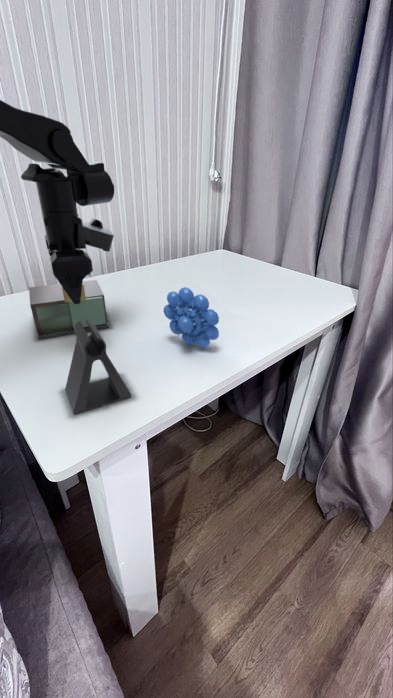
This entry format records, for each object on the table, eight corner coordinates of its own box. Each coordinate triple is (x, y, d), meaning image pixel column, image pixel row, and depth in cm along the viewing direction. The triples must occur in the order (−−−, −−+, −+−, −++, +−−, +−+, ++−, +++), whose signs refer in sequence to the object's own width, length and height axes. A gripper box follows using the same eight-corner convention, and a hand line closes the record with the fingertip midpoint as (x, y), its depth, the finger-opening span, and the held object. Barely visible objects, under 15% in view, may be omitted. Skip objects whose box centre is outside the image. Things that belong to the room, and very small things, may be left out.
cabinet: (38, 339, 66) (30, 307, 62) (36, 316, 74) (28, 287, 70) (109, 327, 71) (105, 297, 67) (100, 307, 79) (96, 279, 75)
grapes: (154, 348, 65) (152, 291, 59) (169, 332, 70) (169, 279, 64) (209, 363, 62) (213, 304, 55) (221, 345, 67) (226, 290, 60)
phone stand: (73, 415, 49) (58, 346, 42) (65, 391, 53) (50, 326, 47) (131, 397, 53) (126, 332, 46) (119, 376, 57) (113, 314, 51)
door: (70, 330, 68) (62, 287, 63) (69, 327, 69) (61, 285, 64) (106, 324, 71) (101, 282, 66) (105, 322, 71) (100, 281, 66)
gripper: (119, 218, 52) (126, 308, 61) (97, 199, 67) (105, 274, 75) (43, 222, 48) (62, 317, 57) (37, 200, 62) (53, 279, 71)
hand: (74, 294), depth 65 cm, fingers open, 9 cm apart
